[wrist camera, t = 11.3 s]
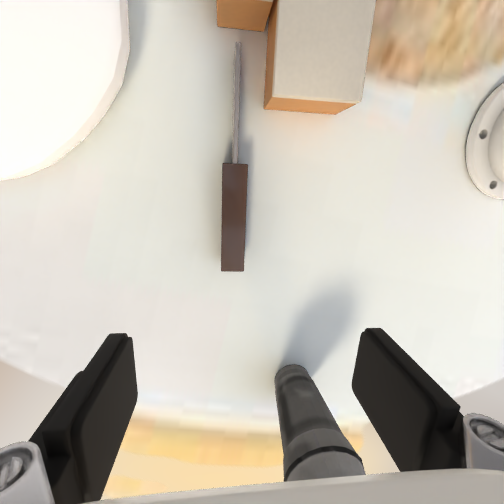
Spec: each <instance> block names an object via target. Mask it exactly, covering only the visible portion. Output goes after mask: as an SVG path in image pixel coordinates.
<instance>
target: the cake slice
mask: <svg viewBox="0 0 504 504" xmlns="http://www.w3.org/2000/svg"><path fill="white" fill-rule="evenodd" d="M272 3H273V0H217V26H218V27H227V28H236V29H244V30H253V31H262V32H264V30H265V26H266V23H267V20H268V16H269V13H270V9H271V6H272Z"/></svg>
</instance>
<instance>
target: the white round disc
mask: <svg viewBox="0 0 504 504" xmlns="http://www.w3.org/2000/svg"><path fill="white" fill-rule="evenodd" d="M129 53H130V39H129V18H128V0H0V181H1V180H8V179H14V178H21V177H26V176H28V175H30V174H33V173H35V172H37V171H40V170H42V169H44V168H47V167H49V166H51V165H53V164H54V163H55V162H57V161H58V160H59V159H60V158H62V157H63V156H64V155H65V154H67V153H68V152H69V151H70V150H72V149H73V148H74V147H75V146H77V145H78V144H79V143H80V142H81V141H83V140H84V139H85V138H86V137H87V136H88V135H89V133H90V132H91V131H92V130H93V129H94V128H95V126H96V125H97V124H98V123H99V122H100V121H101V119H102V118H103V117H104V116H105V114H106V112H107V111H108V109H109V107H110V106H111V104H112V102H113V101H114V99H115V97H116V95H117V94H118V92H119V90H120V89H121V87H122V84H123V80H124V75H125V71H126V66H127V62H128V57H129Z"/></svg>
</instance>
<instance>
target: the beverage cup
mask: <svg viewBox="0 0 504 504" xmlns="http://www.w3.org/2000/svg"><path fill="white" fill-rule="evenodd" d="M275 389H276V390H275V393H276V401H277V408H278V416H279V424H280V431H281V439H282V446H283V454H284V459H283V466H284V482H288V481H299V480H310V479H322V478H333V477H345V476H358V475H366V474H365V471H364V467H363V463H362V459H361V458H360V457H359V456H358V454H357V453H356V452H355V450H354V449H353V447H352V446H351V444H350V443H349V442H348V440H347V439H346V438H345V437H344V435H343V434H342V432H341V430H340V428H339V427H338V425H337V423H336V421H335V419H334V418H333V416H332V414H331V412H330V410H329V408H328V407H327V405H326V403H325V401H324V399H323V398H322V396H321V394H320V392H319V390H318V389H317V387H316V385H315V383H314V381H313V380H312V379H311V377H310V376H309V374H308V372H307V371H306V369H305V368H303V367H302V366H299V365H289V366H286V367H284V368H282V369H281V370H280V371H279V372H278V373H277V374H276V377H275Z"/></svg>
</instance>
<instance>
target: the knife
mask: <svg viewBox="0 0 504 504" xmlns="http://www.w3.org/2000/svg"><path fill="white" fill-rule="evenodd" d="M240 58H241V42H236V46H235V55H234V96H233V140H232V164H229V163H223V168H222V245H221V271H244V251H245V225H246V200H247V174H248V165H247V164H237V163H238V128H239V93H240Z"/></svg>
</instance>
